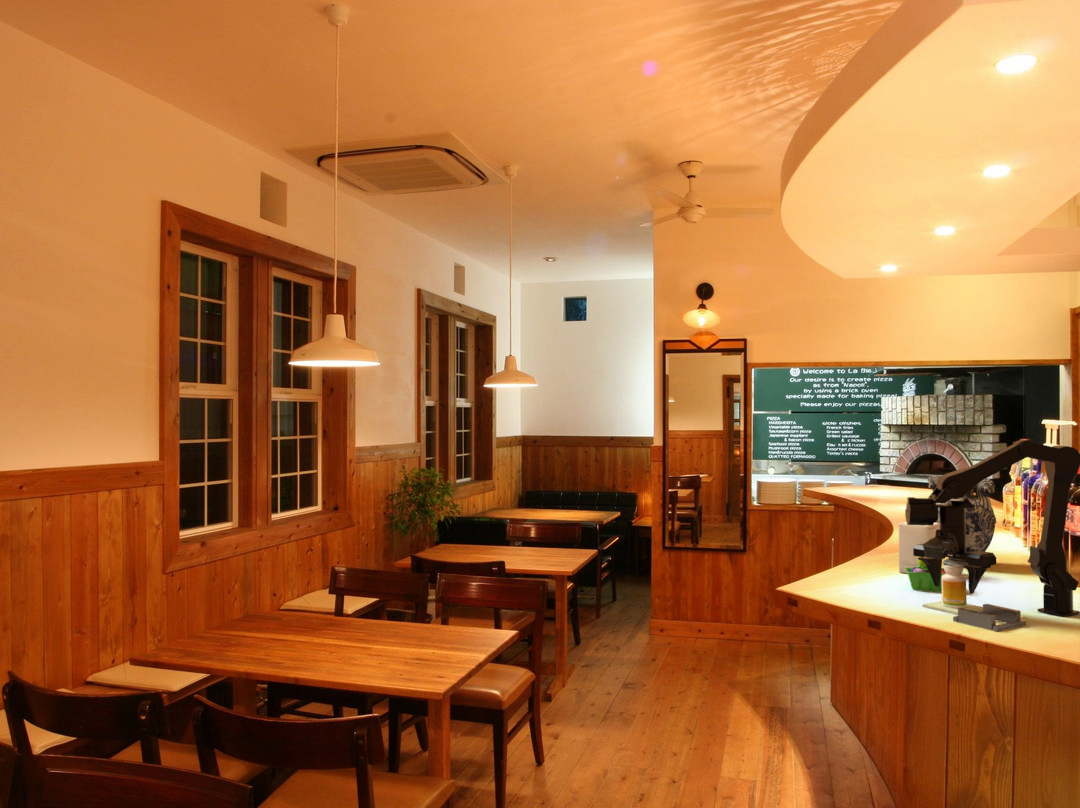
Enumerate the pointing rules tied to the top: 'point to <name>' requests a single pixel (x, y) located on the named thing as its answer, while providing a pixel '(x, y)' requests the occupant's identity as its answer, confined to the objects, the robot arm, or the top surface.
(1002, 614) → the grey low square frame
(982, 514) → the decorative vase
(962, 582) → the supplement bottle
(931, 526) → the supplement box
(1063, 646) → the top surface
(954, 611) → the pad
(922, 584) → the fruit basket
